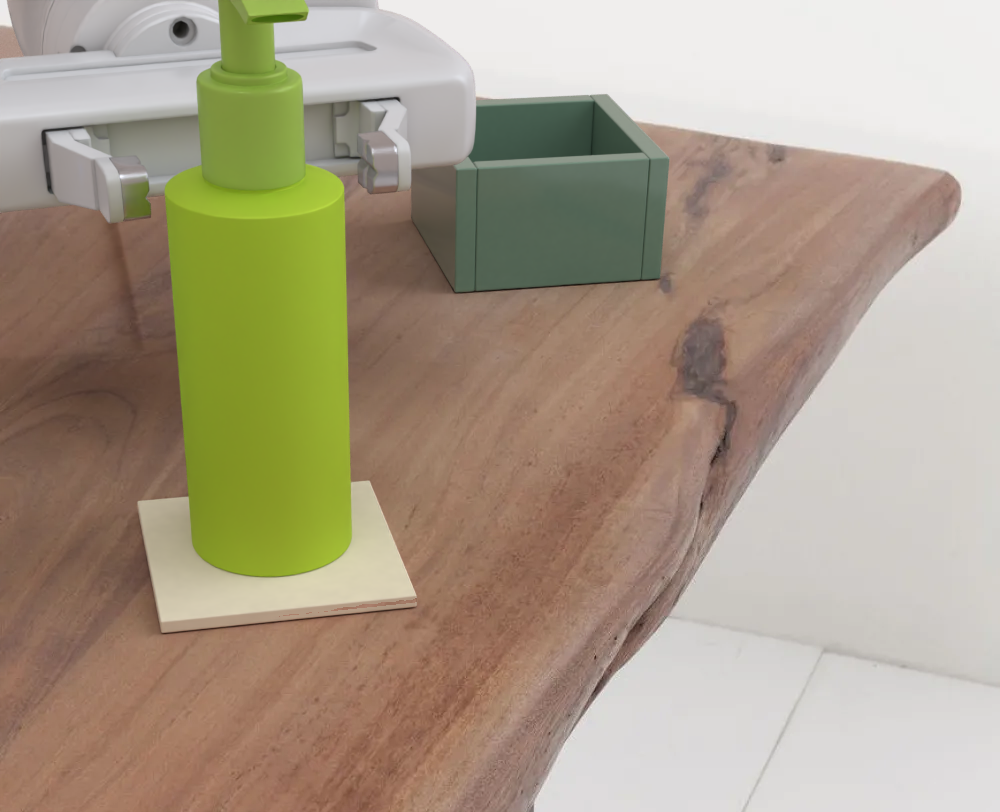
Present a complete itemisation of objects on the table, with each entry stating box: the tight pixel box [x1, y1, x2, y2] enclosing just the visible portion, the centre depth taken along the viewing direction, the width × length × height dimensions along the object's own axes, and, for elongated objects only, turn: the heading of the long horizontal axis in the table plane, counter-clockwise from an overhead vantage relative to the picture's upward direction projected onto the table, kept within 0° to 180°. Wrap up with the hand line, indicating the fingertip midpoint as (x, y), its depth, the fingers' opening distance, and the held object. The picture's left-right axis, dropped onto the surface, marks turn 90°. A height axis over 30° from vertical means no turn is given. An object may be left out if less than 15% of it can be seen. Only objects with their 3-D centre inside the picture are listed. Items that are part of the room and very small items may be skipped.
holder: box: [410, 93, 670, 293], centre depth 94 cm, size 10×10×6 cm
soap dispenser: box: [164, 0, 352, 577], centre depth 63 cm, size 6×7×20 cm
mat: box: [136, 480, 418, 634], centre depth 69 cm, size 9×9×1 cm
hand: (263, 185), depth 65 cm, fingers open, 8 cm apart
